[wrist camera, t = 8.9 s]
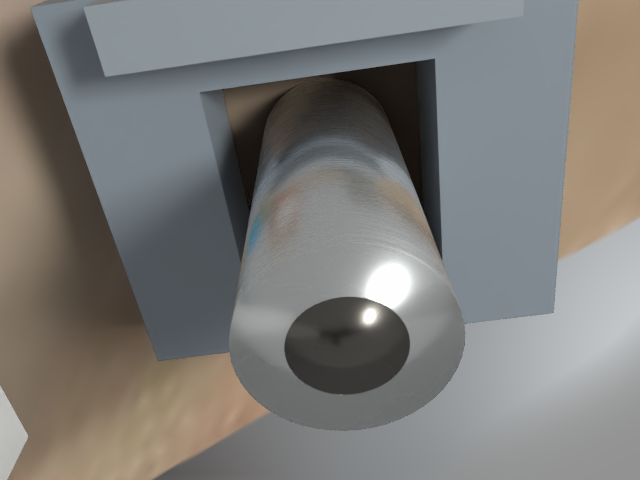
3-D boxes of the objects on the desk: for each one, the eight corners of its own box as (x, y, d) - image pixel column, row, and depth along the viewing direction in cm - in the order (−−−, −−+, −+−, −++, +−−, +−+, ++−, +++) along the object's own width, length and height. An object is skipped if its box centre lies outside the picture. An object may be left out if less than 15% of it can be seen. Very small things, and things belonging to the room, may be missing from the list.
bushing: (275, 206, 22) (253, 442, 12) (252, 87, 20) (204, 265, 10) (395, 190, 22) (466, 418, 12) (386, 69, 20) (464, 231, 10)
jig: (176, 302, 24) (146, 397, 19) (75, -11, 18) (-2, 20, 13) (521, 259, 23) (574, 347, 19) (535, -82, 17) (618, -75, 13)
